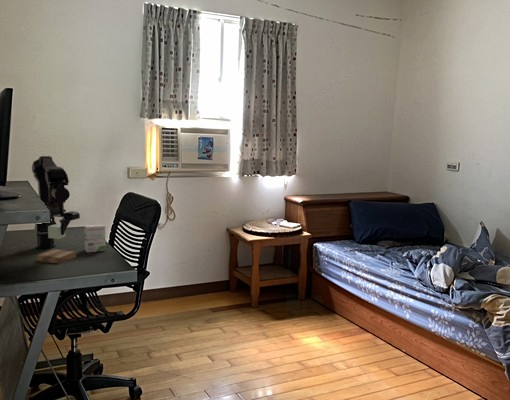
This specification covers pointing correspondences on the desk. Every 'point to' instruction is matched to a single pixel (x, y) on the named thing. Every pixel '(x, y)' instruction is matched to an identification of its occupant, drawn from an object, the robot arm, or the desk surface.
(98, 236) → the ink box
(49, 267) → the desk surface
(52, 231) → the sage cube
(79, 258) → the desk surface
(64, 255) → the walnut block
